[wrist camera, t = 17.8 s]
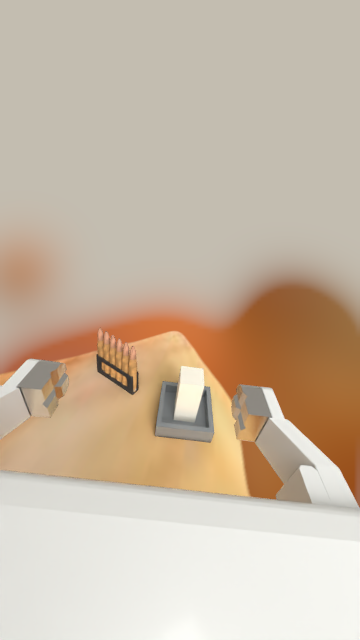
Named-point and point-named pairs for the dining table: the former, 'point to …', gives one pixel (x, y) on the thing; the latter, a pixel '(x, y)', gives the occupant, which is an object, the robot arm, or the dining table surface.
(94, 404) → the dining table surface
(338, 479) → the robot arm
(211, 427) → the box
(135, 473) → the dining table surface
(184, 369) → the cream block
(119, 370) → the ammunition clip
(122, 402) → the dining table surface
